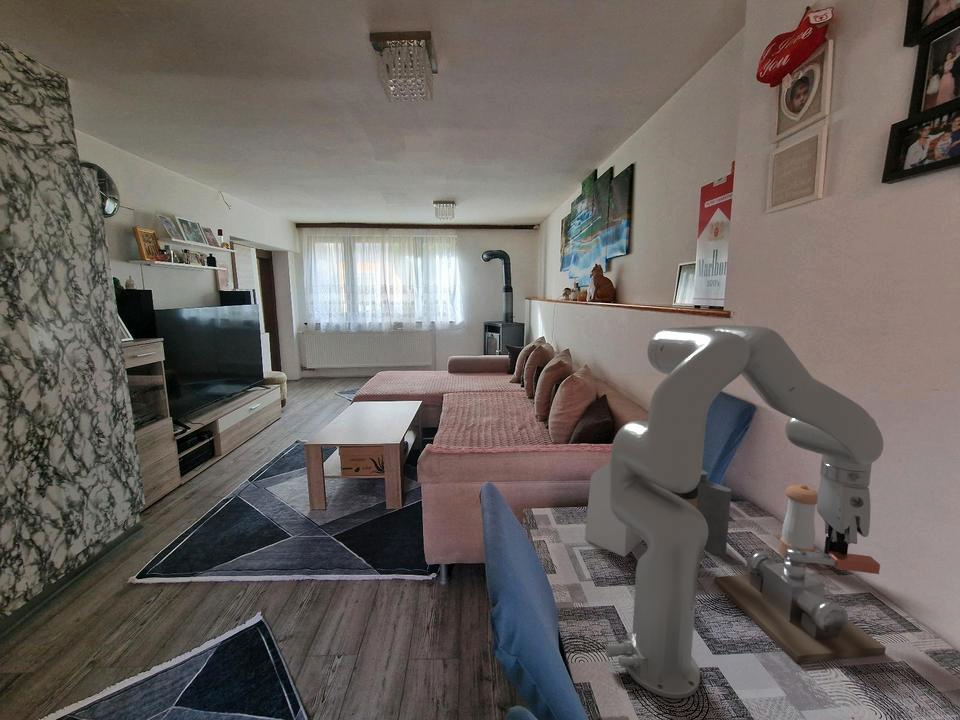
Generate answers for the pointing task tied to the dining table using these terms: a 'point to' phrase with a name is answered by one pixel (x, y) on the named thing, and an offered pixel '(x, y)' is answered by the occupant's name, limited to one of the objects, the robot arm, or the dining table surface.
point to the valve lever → (834, 560)
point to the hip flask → (714, 513)
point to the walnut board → (796, 627)
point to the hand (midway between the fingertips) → (835, 557)
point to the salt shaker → (799, 519)
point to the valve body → (796, 595)
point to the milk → (606, 517)
